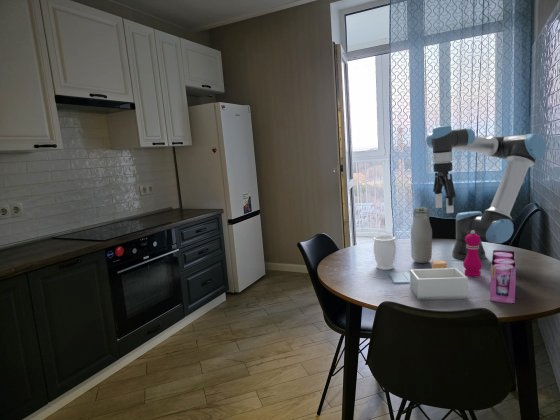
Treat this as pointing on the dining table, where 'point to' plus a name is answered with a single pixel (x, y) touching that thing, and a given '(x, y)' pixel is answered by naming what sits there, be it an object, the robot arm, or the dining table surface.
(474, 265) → the pepper mill
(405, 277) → the lid
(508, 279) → the gum box
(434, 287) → the cabinet body
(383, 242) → the jar
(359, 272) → the dining table surface
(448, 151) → the robot arm
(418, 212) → the grey rounded cylinder
